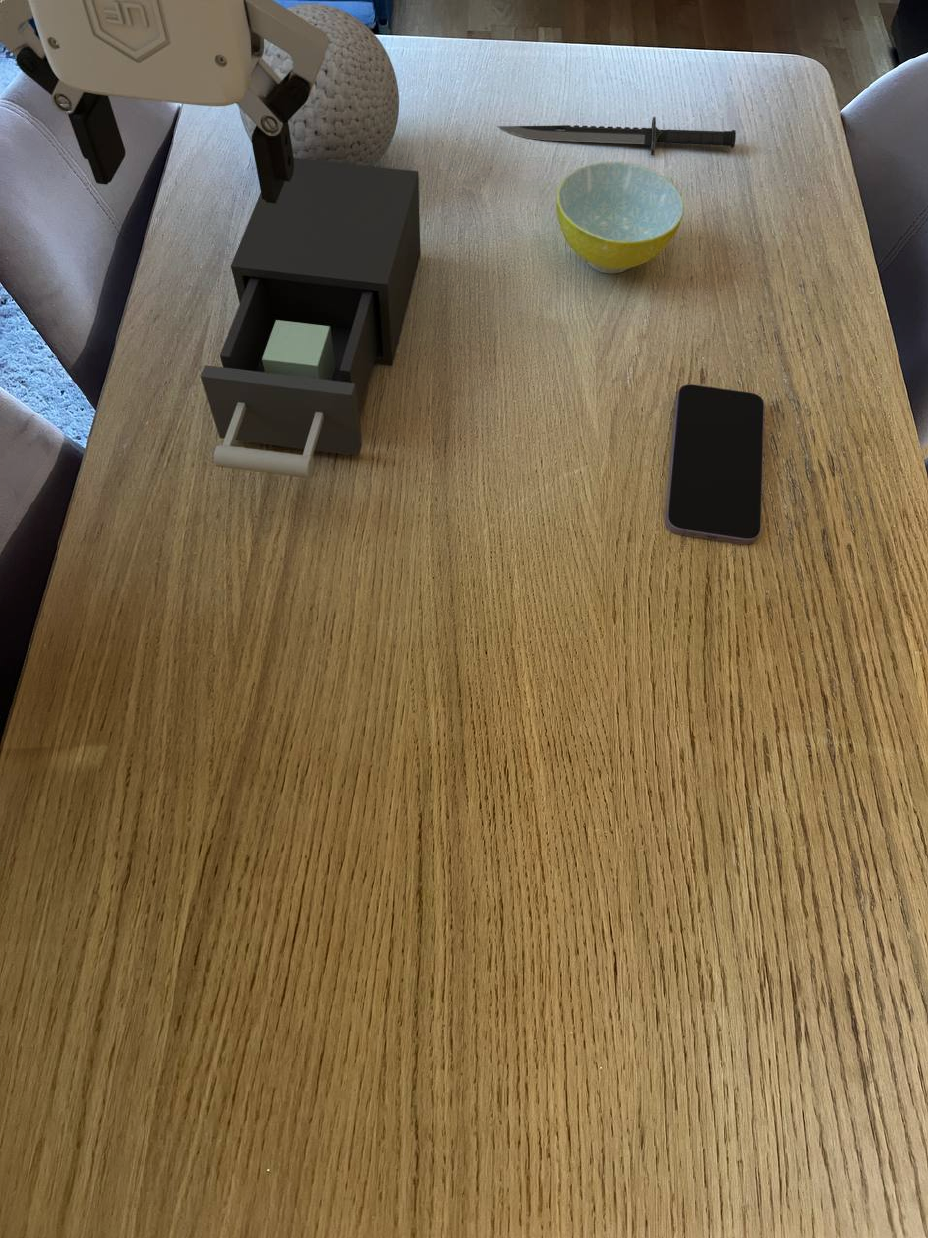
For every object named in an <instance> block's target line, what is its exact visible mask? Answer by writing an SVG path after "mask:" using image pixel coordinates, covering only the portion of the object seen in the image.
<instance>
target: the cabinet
mask: <svg viewBox="0 0 928 1238" xmlns="http://www.w3.org/2000/svg"><path fill="white" fill-rule="evenodd" d="M420 215H421V214H420V173H419V171H418V170H411V169H400V168H391V167H384V166H383V167H382V166H375V167H374V166H365V165H356V164H347V163H338V162H328V161H319V160H310V159H301V158H294V172H293V176H292V178H291V181H289V182H288V181H285V182H284V185H283V187H282V190H281V192H280V195H279V197H278V200H277V202H276V204H274V203H266V201H265V200H263V199H262V195H261V192H259V196H258V197H257V200H256V203H255V206H254V208H253V211H252V213H251V216H250V218H249V220H248V222H247V224H246V227H245V230H244V232H243V235H242V237H241V239H240V242H239V244H238V247H237V249H236V252H235V254H234V256H233V259H232V261H231V264H230V269H231V274H232V277H233V281H234V286H235V289H236V295H237V298H238V302H239V304H240V302H241V300H242V297H243V295H244V292H245V290H246V287H247V284H248V282H249V279H250V277H251V276H253V277H262V278H270V279H279V280H287V281H296V282H305V283H313V284H322V285H330V286H339V287H348V288H356V289H365V290H373V291H378V292H379V306H380V320H381V334H382V336H381V340H380V343H379V347H378V351H377V354H376V358H375V362H374V365H381V366H382V365H383V366H391V367H392V366H394V362H395V359H396V358H395V357H396V354H397V351H398V346H399V342H400V338H401V334H402V330H403V326H404V323H405V319H406V315H407V310H408V306H409V302H410V299H411V295H412V290H413V287H414V283H415V278H416V275H417V272H418V267H419V263H420V260H421V255H422V254H421V222H420V221H421V220H420V219H421V218H420V217H421V216H420Z"/></svg>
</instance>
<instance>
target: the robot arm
mask: <svg viewBox="0 0 928 1238" xmlns="http://www.w3.org/2000/svg"><path fill="white" fill-rule="evenodd" d="M286 8H287V7H284V6H283V5H281V4H279V2H276V1H274V0H0V42H1V43H2V45H3V46H4V47H5V49H7V50H8V52H9V53H10V54H13V55H14V56H15V59H16V60H15V61H16V64H17V66H18V67H19V69H20V70H21V72H23V74H25V75H26V76H27V77H29V78H30V79H31V80H32V81H33V82H34V83H35V84H37V85H38V86H39V87H40V88H41V89H43V90H44V91H46V93H47V94H49V95H50V96H51V98H50V99H51V103H52V104H53V106H54V108H56V109H57V110H58V111H59V112H61V113H62V114H66V115H67V116H68V119H69V122H70V125H71V128H72V130H73V133H74V135H75V138H76V141H77V144H78V147H79V150H80V152H81V155H82V157H83V158H84V159H85V160H87V161H88V165H89V167H90V170H91V173H92V176H93V179H94V182H95V183H96V184H98V185H108V184H109V183H111V182H112V181H113V179H114V177H115V175H116V173H117V171H118V170H119V168H120V166H121V164H122V162H123V160H124V159H125V157H126V148H125V145H124V142H123V138H122V136H121V132H120V128H119V126H118V123H117V120H116V116H115V113H114V109H113V106H112V104H111V103H112V102H111V100H110V97H115V98H126V99H135V100H144V101H153V102H161V103H172V104H180V105H181V104H182V105H192V106H202V107H227V106H231V105H234V104H236V105H237V106H238V108H239V107H240V108H241V109H242V110H243V111H244V112H245V113H246V114H247V116H248V117H249V118H250V119H251V120H252V121H253V122H254V123H255V124H256V127H255V129H254V132H253V134H252V142H251V145H252V152H253V156H254V162H255V167H256V174H257V179H258V184H259V188H260V193H261V195H262V199H263V200H265V201H266V203H274V204H276V202H277V200H278V197H279V195H280V192H281V190H282V187H283V185H284V182H285V181H288V182H289V181H291V178H292V176H293V172H294V158H293V151H292V144H291V137H290V131H289V124H288V120H289V119H290V118H291V117H292V116H293V115H294V114H295V113H296V112H297V111H298V110H299V109H300V108H301V107H302V106H303V105H304V104H305V103H306V101H307V100H308V97H309V95H310V92H311V90H312V87H313V85H314V82H315V80H316V78H317V75H318V73H319V70H320V68H321V65H322V63H323V60H324V58H325V55H326V53H327V50H328V48H329V44H330V42H329V38H328V36H327V35H326V34H325V33H324V32H323V31H321V30H319V29H318V28H316V27H315V26H313V25H311V24H310V23H308V22H307V21H305V20H303V19H302V18H300V17H299V16H297V15H295V14H294V13H292V12H291V11H289V10H287V9H286ZM32 19H33V21H34V25H35V27H36V31H37V34H38V35H37V34H36V31H35V29H34V28H33V26H32V25H31V24H30V21H31V20H32ZM264 39H266V40H267V41H269V42H271V43H272V44H274V45H275V46H277V47H279V48H280V49H282V50H284V51H285V52H287V53H288V54H289V55H290V56H291V57H292V59H293V68H292V70H291V71H290V72H289V73H288V74H287V75H286V76H285V78H284V79H283V80H281V79H280V78H279V77H278V76H277V74H276V73H275V72H274V71H273V70H272V69H271V68H270V67H269V65H268V64H267V63H266V62H265V61H264V60H263V59H262V55H263V53H264Z"/></svg>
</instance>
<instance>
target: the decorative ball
mask: <svg viewBox="0 0 928 1238" xmlns="http://www.w3.org/2000/svg"><path fill="white" fill-rule="evenodd" d="M285 8H286V9H287V10H289V11H291V12H292V13H294V14H295V15H297V16H299V17H300V18H302V19H303V20H305V21H307V22H308V23H310V24H311V25H313V26H315V27H316V28H318V29H319V30H321V31H323V32H324V33H325V34H326V35H327V36H328V38H329V42H330V44H329V48H328V50H327V53H326V55H325V58H324V60H323V63H322V65H321V68H320V70H319V73H318V75H317V78H316V80H315V82H314V85H313V87H312V90H311V92H310V95H309V97H308V100H307V101H306V103H305V104H304V105H303V106H302V107H301V108H300V109H299V110H298V111H297V112H296V113H295V114H294V115H293V116H292V117H291V118H290V119H289V120H288V124H289V131H290V137H291V144H292V151H293V158H301V159H310V160H319V161H328V162H338V163H347V164H356V165H365V166H374V167H377V165H378V164H379V163H380V162H381V160H382V159H383V157H384V156H385V155H386V153H387V152H388V149H389V147H390V146H391V144H392V141H393V139H394V137H395V133H396V130H397V127H398V121H399V113H400V92H399V85H398V80H397V75H396V72H395V69H394V66H393V63H392V61H391V58H390V56H389V54H388V52H387V50H386V48H385V46H384V45H383V43H382V42H381V41H380V39H379V38H378V37H377V36H376V34H375V33H374V32H373V31H372V30H371V29H370V28H369V27H368V26H367V25H366V24H365V23H363V22H362V21H361V20H360V19H358V18H357V17H355V16H354V15H353V14H350V13H349V12H347V11H344V10H343V9H340V8H337V7H334V6H332V5H328V4H322V3H301V4H297V5H291V6H290V7H285ZM262 59H263V60H264V61H265V62H266V63H267V64H268V65H269V67H270V68H271V69H272V70H273V71H274V72H275V73H276V74H277V76H278V77H279V78H280V79H281V80H283V79H284V78H285V76H286V75H287V74H288V73H289V72H290V71H291V70H292V68H293V59H292V57H291V56H290V55H289V54H288V53H287V52H285V51H284V50H282V49H280V48H279V47H277V46H275V45H274V44H272V43H271V42H269V41H267V40H266V39H264V53H263V55H262ZM238 111H239V115H240V119H241V122H242V125H243V128H244V130H245V132H246V134H247V137H248V139H249V141H250V142H251V143H252V134H253V132H254V129H255V127H256V124H255V123H254V122H253V121H252V120H251V119H250V118H249V117H248V116H247V114H246V113H245V112H244V111H243V110H242V109H241V108H240V107H239V106H238Z"/></svg>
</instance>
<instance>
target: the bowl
mask: <svg viewBox="0 0 928 1238" xmlns="http://www.w3.org/2000/svg"><path fill="white" fill-rule="evenodd" d="M557 188H558V189H557V192H556V213H557V214H556V215H557V219H558V224H559V226H560V230H561V233H562V235H563V237H564V239H565V241H566V243H567V244H568V246H569V247H570V248H571V249H572V250H573V251H574V252H575V254H577V255H578V256H579V257H580V258H582V259H583V260H585V262H586V263H587V264H588V265H589V266H590V268H592V269H594V270H596V271H597V272H600V273H603V274H611V275H612V274H613V275H614V274H621V273H623V272H625V271H627V270H629V269H630V268H635V267H639V266H641V265H643V264H645V263H647V262H649V261H651V260H652V259H654V258H655V257H656V256H658V255H659V254H660V253H661V252H662V251H663V250H664V249H666V247H667V246H668V245H669V243H670V242H671V241H672V239H673V238H674V236H675V235H676V233H677V231H678V229H679V227H680V224H681V222H682V219H683V216H684V213H685V211H684V210H685V205H684V200H683V197H682V195H681V193H680V191H679V189H678V188H677V187H676V186H675V185H674V184H673V183H672V182H671V181H670V180H669V179H668V178H667V177H665V176H664V175H662V174H661V173H659V172H656V171H654V170H653V169H650V168H648V167H645V166H642V165H640V164H635V163H631V162H625V161H601V162H595V163H591V164H587V165H583V166H581V167H578V168H576V169H575V170H573V171H571V172H570V173H569V174H567V175H566V176H565V177H564V178H563V180H562V181H561V182H560V184H559V186H558V187H557Z"/></svg>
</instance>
